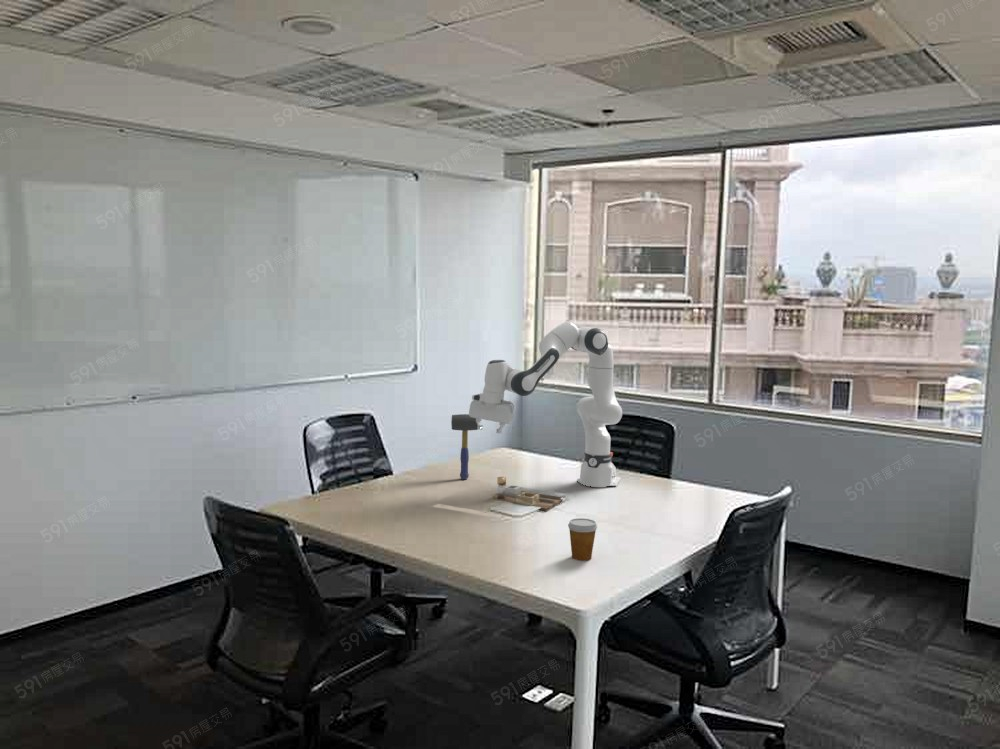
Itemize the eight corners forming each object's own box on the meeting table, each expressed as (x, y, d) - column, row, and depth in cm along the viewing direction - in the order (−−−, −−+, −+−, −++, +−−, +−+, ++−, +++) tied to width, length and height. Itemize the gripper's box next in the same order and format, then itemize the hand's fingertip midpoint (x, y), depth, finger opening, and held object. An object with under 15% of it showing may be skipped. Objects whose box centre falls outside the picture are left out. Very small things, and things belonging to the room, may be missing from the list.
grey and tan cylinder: (499, 496, 330) (499, 476, 330) (507, 497, 329) (507, 477, 328) (495, 498, 327) (495, 478, 326) (503, 499, 326) (503, 479, 325)
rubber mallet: (477, 477, 369) (478, 412, 366) (478, 481, 362) (479, 415, 359) (450, 477, 368) (451, 412, 365) (450, 481, 361) (451, 415, 357)
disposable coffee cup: (593, 552, 267) (595, 517, 266) (598, 562, 258) (599, 526, 256) (565, 552, 267) (566, 517, 265) (568, 562, 257) (569, 526, 256)
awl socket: (523, 499, 327) (523, 491, 327) (539, 501, 324) (539, 494, 324) (516, 502, 321) (516, 495, 321) (531, 505, 318) (532, 498, 318)
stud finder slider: (504, 490, 339) (504, 483, 339) (521, 492, 335) (521, 485, 335) (498, 492, 335) (499, 485, 334) (516, 495, 331) (516, 488, 331)
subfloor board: (505, 493, 341) (506, 488, 340) (562, 502, 329) (562, 496, 328) (488, 502, 327) (488, 496, 326) (546, 511, 315) (546, 505, 314)
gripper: (518, 401, 330) (514, 435, 331) (477, 394, 341) (473, 427, 342) (510, 402, 325) (506, 435, 326) (468, 395, 336) (465, 427, 336)
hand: (489, 431), depth 334 cm, fingers open, 8 cm apart
